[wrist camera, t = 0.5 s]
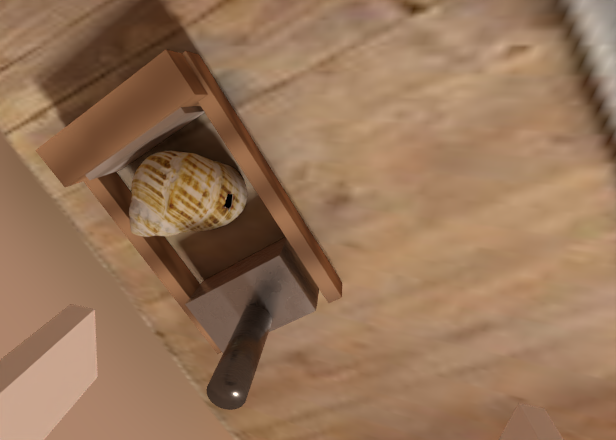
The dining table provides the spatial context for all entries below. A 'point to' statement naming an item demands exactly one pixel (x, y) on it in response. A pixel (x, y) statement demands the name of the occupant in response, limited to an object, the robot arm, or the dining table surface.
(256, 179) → the press frame
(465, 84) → the dining table surface
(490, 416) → the dining table surface
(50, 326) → the robot arm
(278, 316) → the grey plunger
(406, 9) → the dining table surface
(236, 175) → the seashell
